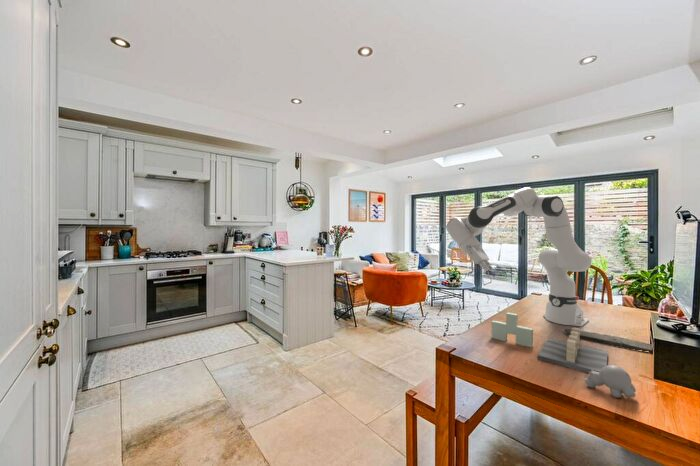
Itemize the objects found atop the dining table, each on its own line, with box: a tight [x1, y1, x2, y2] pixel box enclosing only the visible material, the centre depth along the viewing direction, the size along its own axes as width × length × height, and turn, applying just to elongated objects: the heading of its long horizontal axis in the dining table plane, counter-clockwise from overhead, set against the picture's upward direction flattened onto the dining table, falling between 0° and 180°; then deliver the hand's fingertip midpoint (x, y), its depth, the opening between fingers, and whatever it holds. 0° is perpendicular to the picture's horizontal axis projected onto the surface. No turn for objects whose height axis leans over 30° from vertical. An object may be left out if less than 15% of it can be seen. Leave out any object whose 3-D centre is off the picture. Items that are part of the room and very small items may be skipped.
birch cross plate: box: [537, 327, 609, 374], centre depth 115 cm, size 24×20×9 cm
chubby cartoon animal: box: [582, 364, 637, 399], centre depth 91 cm, size 7×12×8 cm, turn 41°
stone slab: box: [563, 328, 653, 352], centre depth 132 cm, size 10×3×30 cm
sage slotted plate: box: [490, 311, 534, 349], centre depth 130 cm, size 16×2×12 cm, turn 48°
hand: (489, 269), depth 137 cm, fingers open, 8 cm apart
